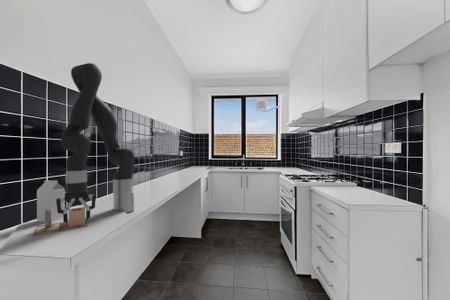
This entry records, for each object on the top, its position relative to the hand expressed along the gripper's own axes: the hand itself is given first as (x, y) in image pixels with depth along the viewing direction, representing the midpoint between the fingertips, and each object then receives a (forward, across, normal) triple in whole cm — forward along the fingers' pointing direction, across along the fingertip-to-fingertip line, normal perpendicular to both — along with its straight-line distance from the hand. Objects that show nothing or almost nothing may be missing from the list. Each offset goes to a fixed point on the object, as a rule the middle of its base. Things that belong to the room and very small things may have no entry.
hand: (77, 220), depth 93 cm
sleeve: (+1, 0, 0) cm, 1 cm away
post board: (+3, +5, 0) cm, 6 cm away
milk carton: (+3, +10, -15) cm, 18 cm away
